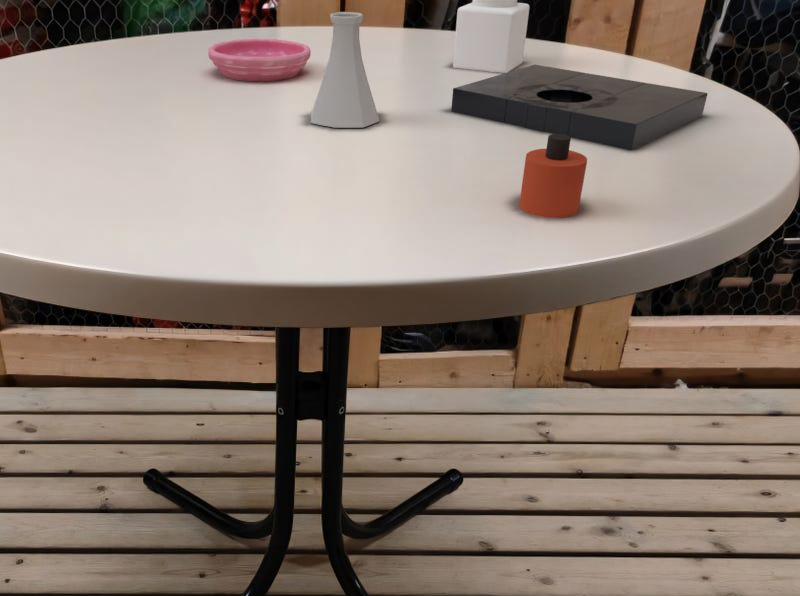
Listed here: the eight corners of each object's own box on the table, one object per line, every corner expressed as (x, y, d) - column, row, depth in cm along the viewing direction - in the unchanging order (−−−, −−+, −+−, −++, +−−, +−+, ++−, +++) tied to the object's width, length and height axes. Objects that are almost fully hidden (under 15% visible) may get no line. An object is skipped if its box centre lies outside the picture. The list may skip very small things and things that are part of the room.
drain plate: (701, 118, 85) (707, 92, 84) (630, 152, 75) (635, 124, 74) (531, 86, 97) (534, 64, 96) (450, 113, 87) (452, 88, 86)
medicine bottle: (523, 63, 108) (536, -40, 101) (506, 74, 102) (519, -35, 96) (470, 58, 110) (479, -43, 104) (451, 68, 105) (460, -38, 99)
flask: (387, 115, 86) (392, 10, 81) (369, 133, 81) (373, 22, 75) (321, 109, 88) (321, 7, 83) (299, 127, 82) (298, 18, 77)
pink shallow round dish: (290, 60, 109) (290, 34, 108) (325, 80, 100) (325, 52, 98) (198, 68, 106) (196, 41, 104) (225, 89, 96) (224, 60, 94)
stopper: (588, 208, 63) (601, 136, 60) (559, 224, 61) (571, 149, 58) (538, 195, 66) (548, 124, 63) (507, 209, 63) (517, 136, 60)
